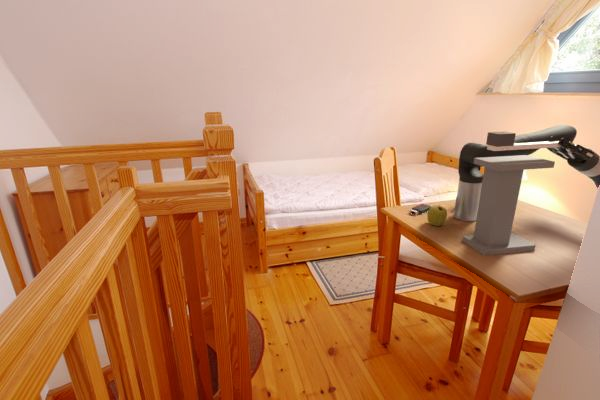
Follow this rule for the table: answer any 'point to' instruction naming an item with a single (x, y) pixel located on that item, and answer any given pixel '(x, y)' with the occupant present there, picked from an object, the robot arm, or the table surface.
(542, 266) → the table surface
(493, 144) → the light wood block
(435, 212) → the apple
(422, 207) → the usb drive
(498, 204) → the gray stand
